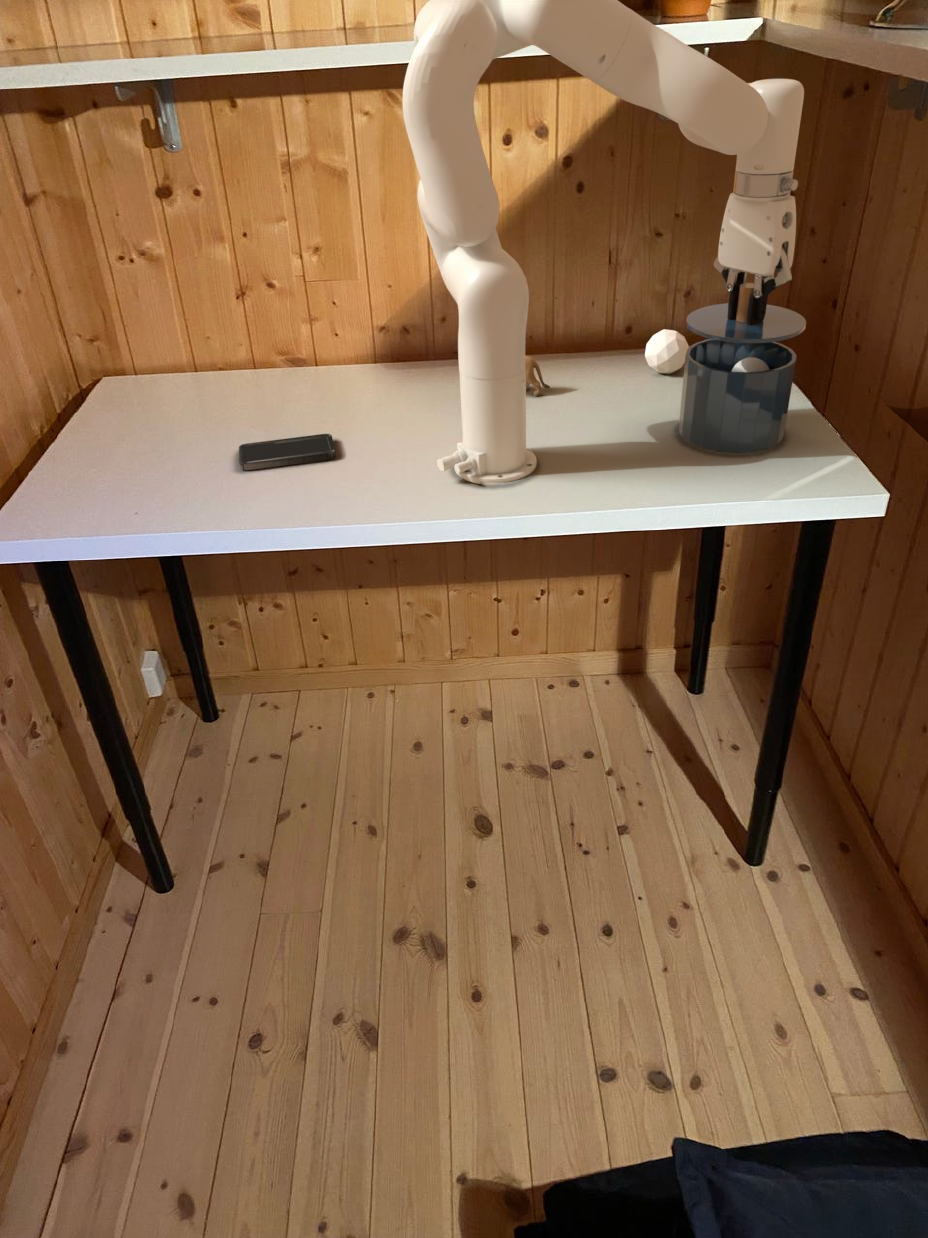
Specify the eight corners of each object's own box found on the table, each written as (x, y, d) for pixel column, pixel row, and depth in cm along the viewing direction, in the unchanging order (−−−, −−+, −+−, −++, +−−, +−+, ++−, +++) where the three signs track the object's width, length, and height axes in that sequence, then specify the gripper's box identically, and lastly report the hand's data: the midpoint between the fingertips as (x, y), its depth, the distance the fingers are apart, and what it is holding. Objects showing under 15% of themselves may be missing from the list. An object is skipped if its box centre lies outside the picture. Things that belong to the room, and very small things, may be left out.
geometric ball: (653, 387, 170) (629, 354, 167) (673, 360, 174) (650, 327, 171) (684, 377, 164) (659, 342, 161) (704, 348, 167) (680, 314, 164)
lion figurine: (468, 400, 162) (466, 350, 157) (467, 389, 167) (465, 340, 162) (551, 395, 163) (552, 345, 157) (548, 384, 167) (548, 335, 162)
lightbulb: (745, 432, 149) (770, 365, 146) (755, 433, 143) (781, 363, 140) (709, 420, 148) (734, 353, 146) (717, 421, 143) (743, 350, 140)
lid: (753, 356, 127) (759, 310, 123) (661, 328, 138) (665, 286, 134) (829, 327, 134) (836, 284, 131) (736, 303, 146) (741, 262, 142)
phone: (335, 452, 145) (238, 464, 143) (336, 458, 145) (240, 471, 143) (331, 432, 151) (238, 443, 149) (332, 438, 152) (240, 450, 150)
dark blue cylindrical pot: (737, 465, 137) (748, 381, 129) (657, 433, 148) (664, 353, 140) (804, 435, 144) (818, 354, 137) (724, 406, 155) (733, 329, 148)
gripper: (831, 187, 121) (808, 326, 132) (733, 173, 132) (719, 303, 143) (795, 196, 118) (774, 338, 128) (697, 181, 129) (685, 313, 139)
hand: (745, 318), depth 135 cm, fingers closed on lid, 2 cm apart
